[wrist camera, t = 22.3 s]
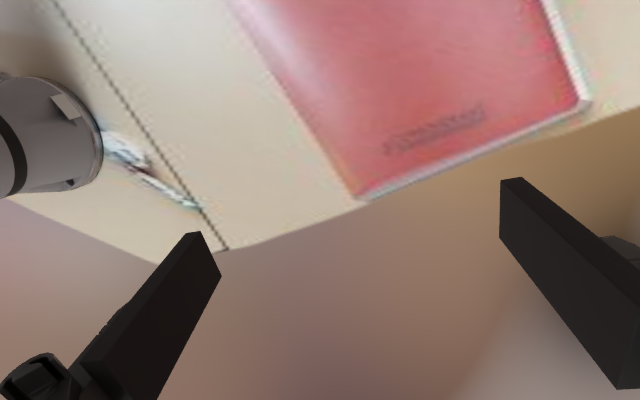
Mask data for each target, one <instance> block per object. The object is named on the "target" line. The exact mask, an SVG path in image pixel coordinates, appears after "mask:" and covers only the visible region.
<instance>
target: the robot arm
mask: <svg viewBox="0 0 640 400" xmlns="http://www.w3.org/2000/svg"><path fill="white" fill-rule="evenodd" d="M102 156H103V150H102V142H101V138H100V134H99V131H98V128H97V126H96V124H95V122H94V120H93V118H92V116H91V115H90V113H89V111H88V110H87V109H86V107H85V106H84V105H83V104H82V102H81V101H80V100H79V99H78V98H77V97H76V96H75V95H74V94H73V93H72V92H70V91H69V90H68V89H66V88H65V87H63V86H62V85H60V84H58V83H56V82H54V81H52V80H49V79H46V78H42V77H16V78H11V79H7V80H4V81H1V82H0V199H1V198H4V197H7V196H10V195H14V194H17V193H38V192H61V191H67V190H72V189H76V188H78V187H81V186H84V185H86V184H88V183H89V182H91V181H92V180H93V179H94V178H95V177H96V175H97V174H98V172H99V170H100V167H101V163H102ZM499 238H500V239H501V240H502V242H503V243H504V244H505V246H506V247H507V248H508V249H509V251H510V252H511V253H512V255H513V256H514V257H515V259H516V260H517V261H518V262H519V264H520V265H521V266H522V268H523V269H524V270H525V272H526V273H527V274H528V275H529V277H530V278H531V279H532V281H533V282H534V283H535V285H536V286H537V287H538V288H539V290H540V291H541V292H542V294H543V295H544V296H545V298H546V299H547V300H548V301H549V303H550V304H551V305H552V307H553V308H554V309H555V310H556V312H557V313H558V314H559V316H560V317H561V318H562V320H563V321H564V322H565V323H566V325H567V326H568V327H569V329H570V330H571V331H572V332H573V334H574V335H575V336H576V338H577V339H578V340H579V342H580V343H581V344H582V345H583V347H584V348H585V349H586V351H587V352H588V353H589V354H590V356H591V357H592V358H593V360H594V361H595V362H596V364H597V365H598V366H599V367H600V369H601V370H602V371H603V373H604V374H605V375H606V376H607V378H608V379H609V380H610V382H611V383H612V384H613V386H614V387H615V388H616V389H617V390H622V389H639V388H640V247H638V246H637V245H635V244H632V243H630V242H628V241H625V240H623V239H621V238H618V237H616V236H607V237H598V236H596V235H595V234H594V233H593V232H591V231H590V230H589V229H587V228H586V227H585V226H584V225H582V224H581V223H580V222H578V221H577V220H576V219H575V218H573V217H572V216H571V215H569V214H568V213H567V212H566V211H564V210H563V209H562V208H561V207H559V206H558V205H557V204H556V203H554V202H553V201H552V200H550V199H549V198H548V197H547V196H545V195H544V194H543V193H542V192H540V191H539V190H537V189H536V188H535V187H534V186H532V185H531V184H530V183H529V182H527V181H526V180H525V179H524V178H522V177H518V178H511V179H505V180H501V183H500V225H499ZM221 277H222V276H221V273H220V271H219V269H218V267H217V265H216V263H215V261H214V259H213V256H212V254H211V252H210V250H209V248H208V246H207V244H206V242H205V239H204V237H203V235H202V233H201V231H197V232H191V233H186V234H185V235H184V236H183V237H182V238H181V240H180V241H179V242H178V243H177V244H176V246H175V247H174V248H173V249H172V250H171V252H170V253H169V254H168V255H167V257H166V258H165V259H164V260H163V261H162V263H161V264H160V265H159V266H158V268H157V269H156V270H155V271H154V272H153V273H152V275H151V276H150V277H149V278H148V279H147V281H146V282H145V283H144V284H143V285H142V287H141V288H140V289H139V290H138V291H137V293H136V294H135V295H134V296H133V298H132V299H131V300H130V301H129V302H128V303H126V304H125V305H124V306H123V307H122V308H121V309H119V310H118V311H117V312H116V313H115V314H114V315H113V316H112V318H111V319H110V320H109V321H108V322H107V325H105V326H104V327H103V328H102V329H101V331H100V332H99V335H96V337H95V338H94V339H93V340H92V341H91V343H90V344H89V345H88V346H87V347H86V348H85V350H84V351H83V352H82V353H81V354H80V355H79V357H78V358H77V359H76V360H75V361H74V363H73V364H72V365H71V366H70V367H69V368H68V370H67V369H66V368H65V367H64V366H63V365H62V363H61V362H60V361H59V360H58V359H57V358H56V357H55V356H54V354H52V353H43V354H39V355H37V356H35V357H33V358H30V359H29V360H27V361H26V362H24V363H22V364H21V365H19V366H18V367H17V368H16V369H14V370H13V371H12V372H11V373H10V374H8V376H7V377H6V378H5V379H4V380H3V381H2V382H1V384H0V394H2V395H3V396H4V397H5V398H6V399H7V400H157V398H158V396H159V394H160V393H161V391H162V389H163V387H164V385H165V383H166V381H167V379H168V377H169V375H170V374H171V372H172V370H173V368H174V366H175V364H176V362H177V360H178V358H179V357H180V355H181V353H182V351H183V349H184V347H185V345H186V343H187V341H188V339H189V338H190V335H191V334H192V332H193V330H194V328H195V326H196V324H197V322H198V320H199V319H200V317H201V315H202V313H203V311H204V309H205V307H206V305H207V303H208V301H209V300H210V298H211V296H212V294H213V292H214V290H215V288H216V286H217V284H218V282H219V281H220V279H221Z"/></svg>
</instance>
